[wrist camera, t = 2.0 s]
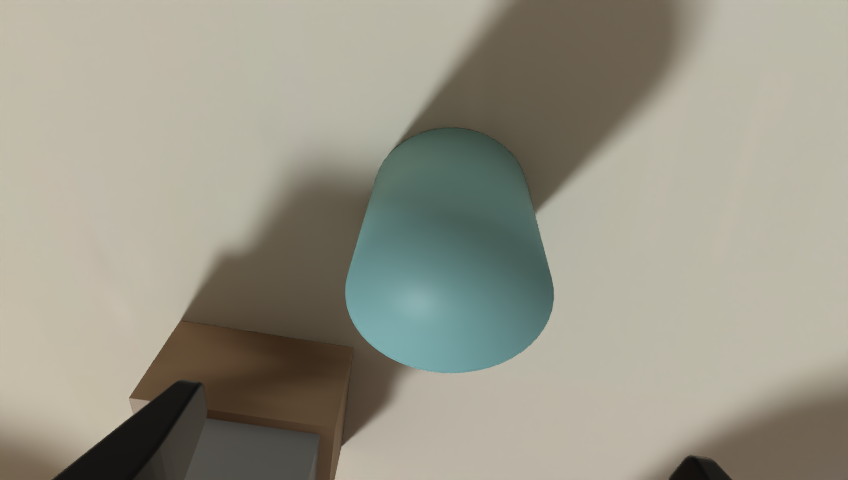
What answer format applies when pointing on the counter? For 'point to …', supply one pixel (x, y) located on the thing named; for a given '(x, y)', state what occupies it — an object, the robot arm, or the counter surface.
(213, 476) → the grey square block
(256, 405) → the walnut base block
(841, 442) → the counter surface
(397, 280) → the teal cylinder
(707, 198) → the counter surface
